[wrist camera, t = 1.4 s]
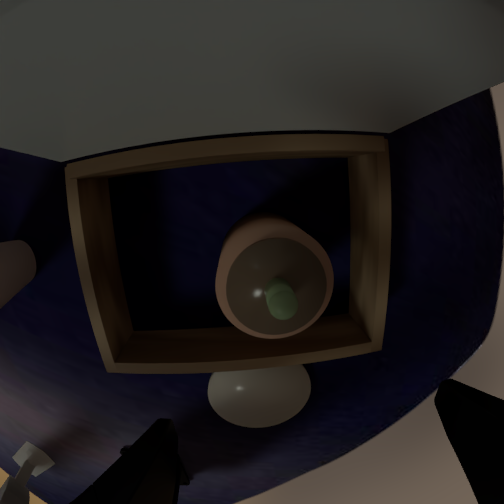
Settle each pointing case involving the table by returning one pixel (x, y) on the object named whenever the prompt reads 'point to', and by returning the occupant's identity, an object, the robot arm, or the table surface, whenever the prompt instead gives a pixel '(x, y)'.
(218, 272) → the clay pot
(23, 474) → the heart sculpture
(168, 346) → the open wooden box frame
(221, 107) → the grey angled plate
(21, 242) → the smoothie
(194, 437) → the table surface
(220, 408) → the cream round disc
